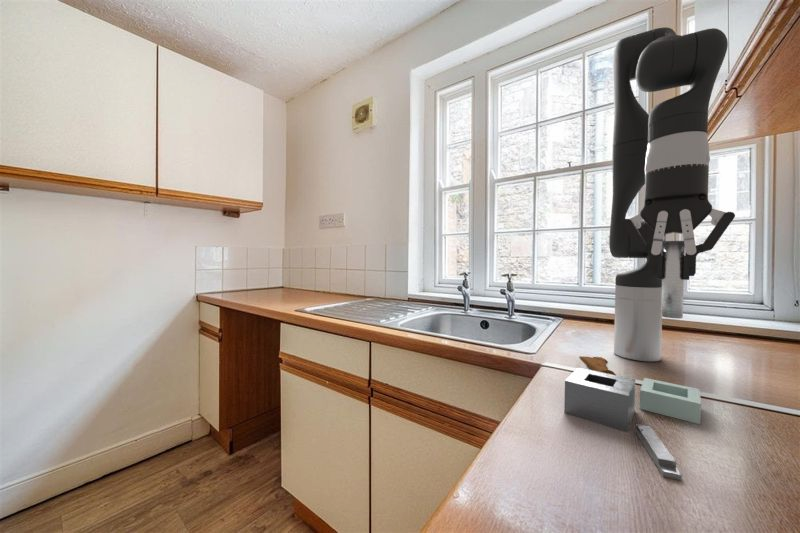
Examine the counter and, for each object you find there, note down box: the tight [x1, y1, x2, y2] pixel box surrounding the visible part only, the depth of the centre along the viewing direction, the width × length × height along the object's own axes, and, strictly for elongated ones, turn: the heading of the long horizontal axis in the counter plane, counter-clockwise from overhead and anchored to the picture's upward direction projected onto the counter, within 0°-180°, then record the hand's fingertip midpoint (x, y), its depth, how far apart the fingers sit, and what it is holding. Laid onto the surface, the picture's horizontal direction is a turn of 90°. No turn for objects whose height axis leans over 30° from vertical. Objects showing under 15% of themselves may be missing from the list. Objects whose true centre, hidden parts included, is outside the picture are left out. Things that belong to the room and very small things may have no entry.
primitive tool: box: [578, 355, 617, 375], centre depth 67 cm, size 19×6×4 cm, turn 159°
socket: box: [563, 367, 636, 432], centre depth 49 cm, size 8×8×5 cm
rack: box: [639, 377, 702, 425], centre depth 50 cm, size 7×7×3 cm
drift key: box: [635, 423, 683, 481], centre depth 38 cm, size 9×2×1 cm, turn 158°
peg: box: [661, 240, 686, 319], centre depth 50 cm, size 3×3×12 cm
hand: (672, 278), depth 50 cm, fingers closed on peg, 2 cm apart
